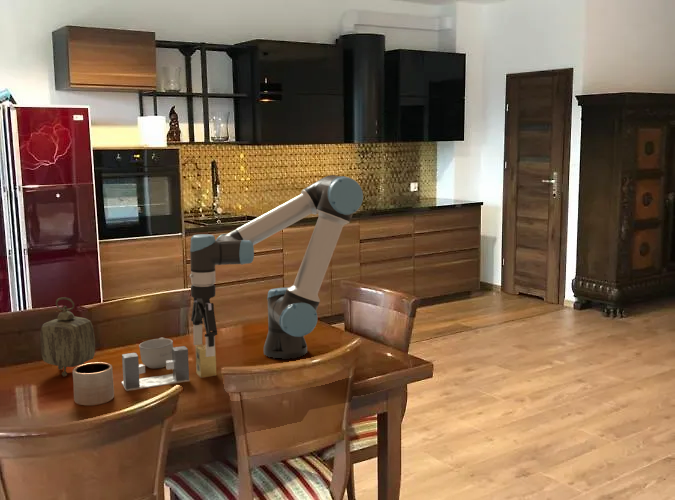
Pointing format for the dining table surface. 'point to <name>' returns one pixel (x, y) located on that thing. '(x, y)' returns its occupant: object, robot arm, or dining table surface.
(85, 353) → the weathered metal cowbell
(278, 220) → the robot arm
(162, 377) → the stand
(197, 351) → the block
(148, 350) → the teacup
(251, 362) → the dining table surface
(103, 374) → the planter
